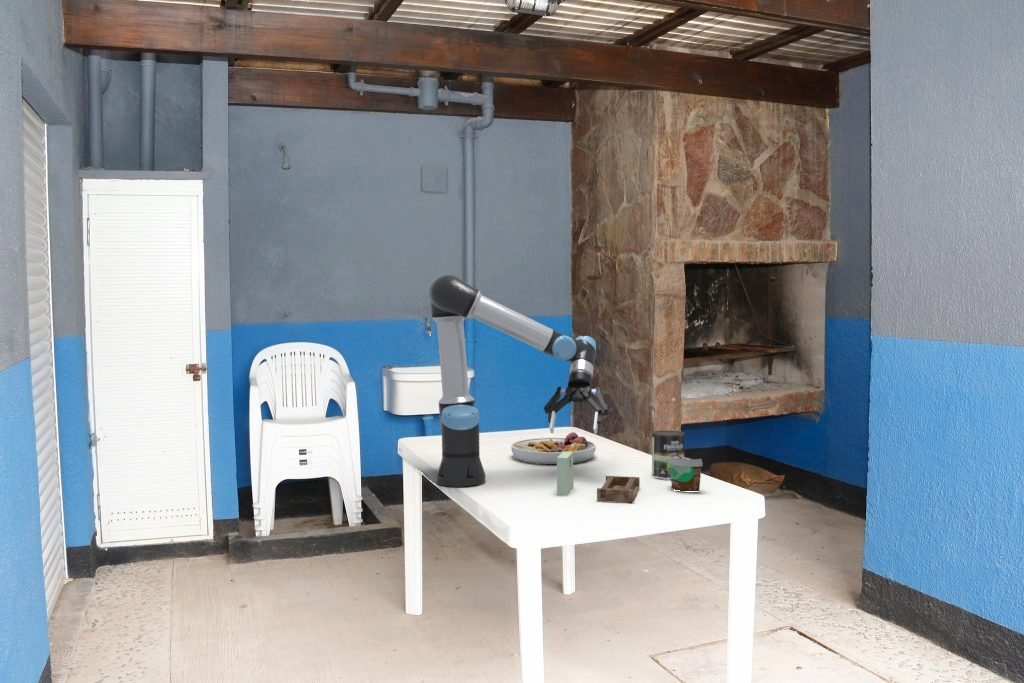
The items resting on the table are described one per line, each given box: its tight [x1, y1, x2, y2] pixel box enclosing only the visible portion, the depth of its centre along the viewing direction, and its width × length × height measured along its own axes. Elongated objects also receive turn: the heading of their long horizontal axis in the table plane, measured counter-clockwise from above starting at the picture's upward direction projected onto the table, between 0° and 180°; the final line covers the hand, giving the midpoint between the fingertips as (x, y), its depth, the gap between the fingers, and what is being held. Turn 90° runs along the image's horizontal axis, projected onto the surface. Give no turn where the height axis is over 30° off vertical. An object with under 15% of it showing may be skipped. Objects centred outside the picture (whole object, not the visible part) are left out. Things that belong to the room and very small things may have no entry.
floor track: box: [596, 475, 641, 503], centre depth 247 cm, size 10×18×4 cm, turn 165°
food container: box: [668, 453, 704, 492], centre depth 252 cm, size 12×6×10 cm, turn 29°
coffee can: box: [651, 429, 686, 480], centre depth 271 cm, size 10×10×14 cm
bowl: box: [510, 432, 597, 465], centre depth 304 cm, size 30×30×8 cm
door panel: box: [556, 451, 574, 496], centre depth 252 cm, size 3×10×11 cm, turn 165°
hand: (573, 431), depth 262 cm, fingers open, 13 cm apart
